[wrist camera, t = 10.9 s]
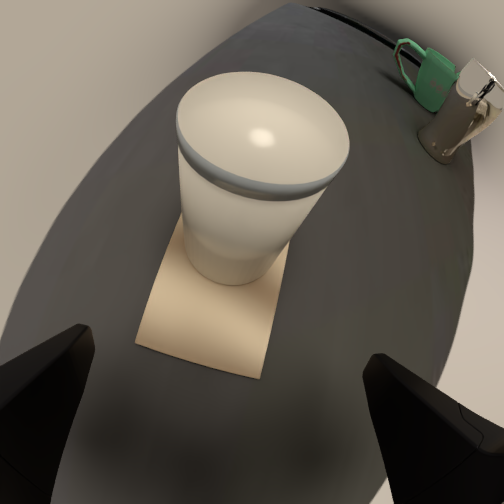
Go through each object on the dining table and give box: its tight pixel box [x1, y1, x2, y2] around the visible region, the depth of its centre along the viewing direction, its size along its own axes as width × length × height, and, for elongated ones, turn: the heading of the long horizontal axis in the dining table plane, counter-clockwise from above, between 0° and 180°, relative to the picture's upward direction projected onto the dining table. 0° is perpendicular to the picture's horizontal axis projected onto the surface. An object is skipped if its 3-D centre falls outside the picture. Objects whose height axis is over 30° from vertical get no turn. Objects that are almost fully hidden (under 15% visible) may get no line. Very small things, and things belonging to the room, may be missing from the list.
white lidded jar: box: [176, 72, 349, 285], centre depth 13 cm, size 6×6×10 cm
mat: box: [135, 213, 289, 379], centre depth 17 cm, size 12×8×1 cm, turn 167°
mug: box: [393, 38, 461, 112], centre depth 31 cm, size 15×10×10 cm
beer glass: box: [418, 58, 504, 164], centre depth 23 cm, size 7×7×15 cm
